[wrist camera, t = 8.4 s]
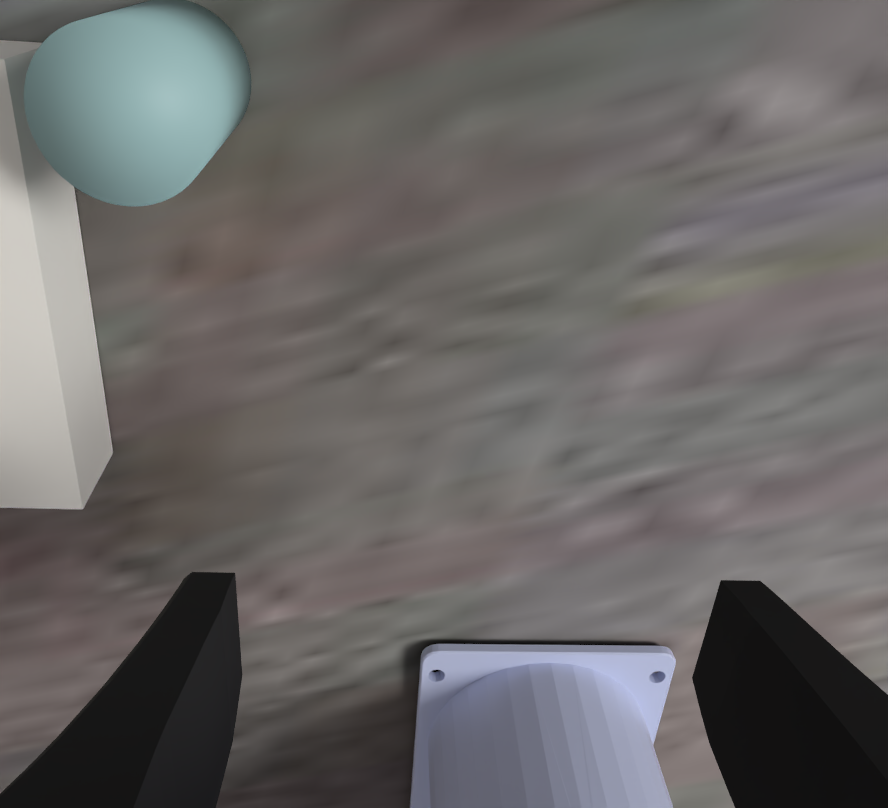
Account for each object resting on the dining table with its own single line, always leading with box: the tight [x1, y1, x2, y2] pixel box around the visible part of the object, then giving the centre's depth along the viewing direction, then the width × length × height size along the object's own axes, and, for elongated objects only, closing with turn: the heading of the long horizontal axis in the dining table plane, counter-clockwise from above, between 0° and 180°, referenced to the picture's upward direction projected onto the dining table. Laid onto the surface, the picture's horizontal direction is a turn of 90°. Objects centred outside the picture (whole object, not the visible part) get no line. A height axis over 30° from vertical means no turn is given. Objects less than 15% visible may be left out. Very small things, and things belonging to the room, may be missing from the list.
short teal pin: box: [24, 0, 251, 206], centre depth 16 cm, size 3×3×4 cm
